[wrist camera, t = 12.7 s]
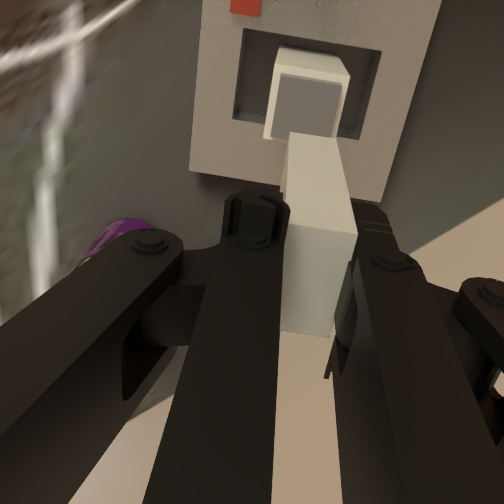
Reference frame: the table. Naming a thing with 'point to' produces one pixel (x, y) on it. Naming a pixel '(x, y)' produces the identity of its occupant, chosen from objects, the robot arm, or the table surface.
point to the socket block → (316, 39)
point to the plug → (305, 94)
